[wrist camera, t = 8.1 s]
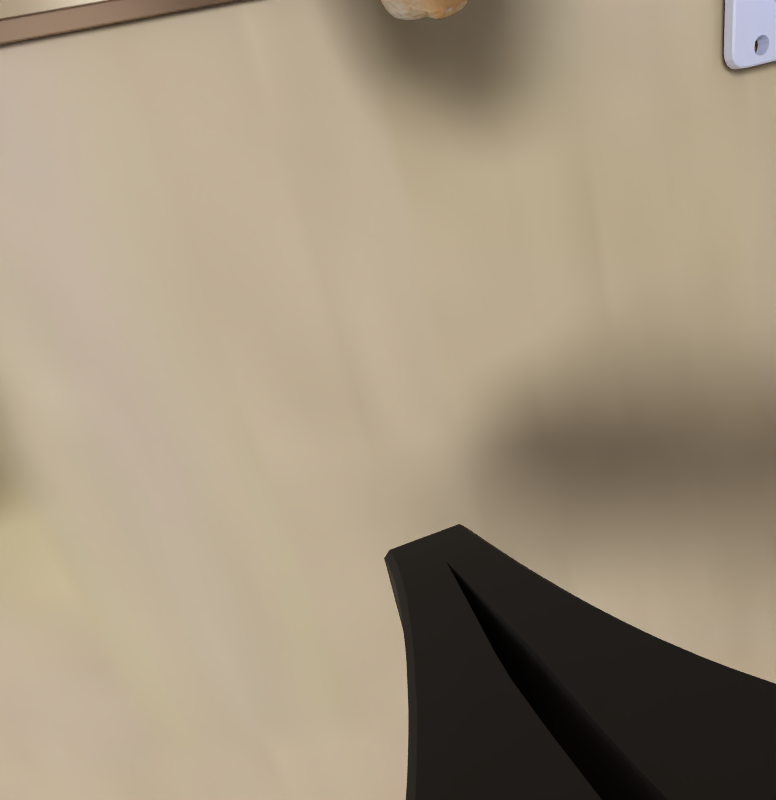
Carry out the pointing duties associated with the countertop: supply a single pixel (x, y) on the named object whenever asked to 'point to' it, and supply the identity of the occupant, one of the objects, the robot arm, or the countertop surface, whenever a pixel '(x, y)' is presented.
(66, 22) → the brown framed panel
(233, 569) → the countertop surface
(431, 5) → the lion figurine
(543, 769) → the robot arm
